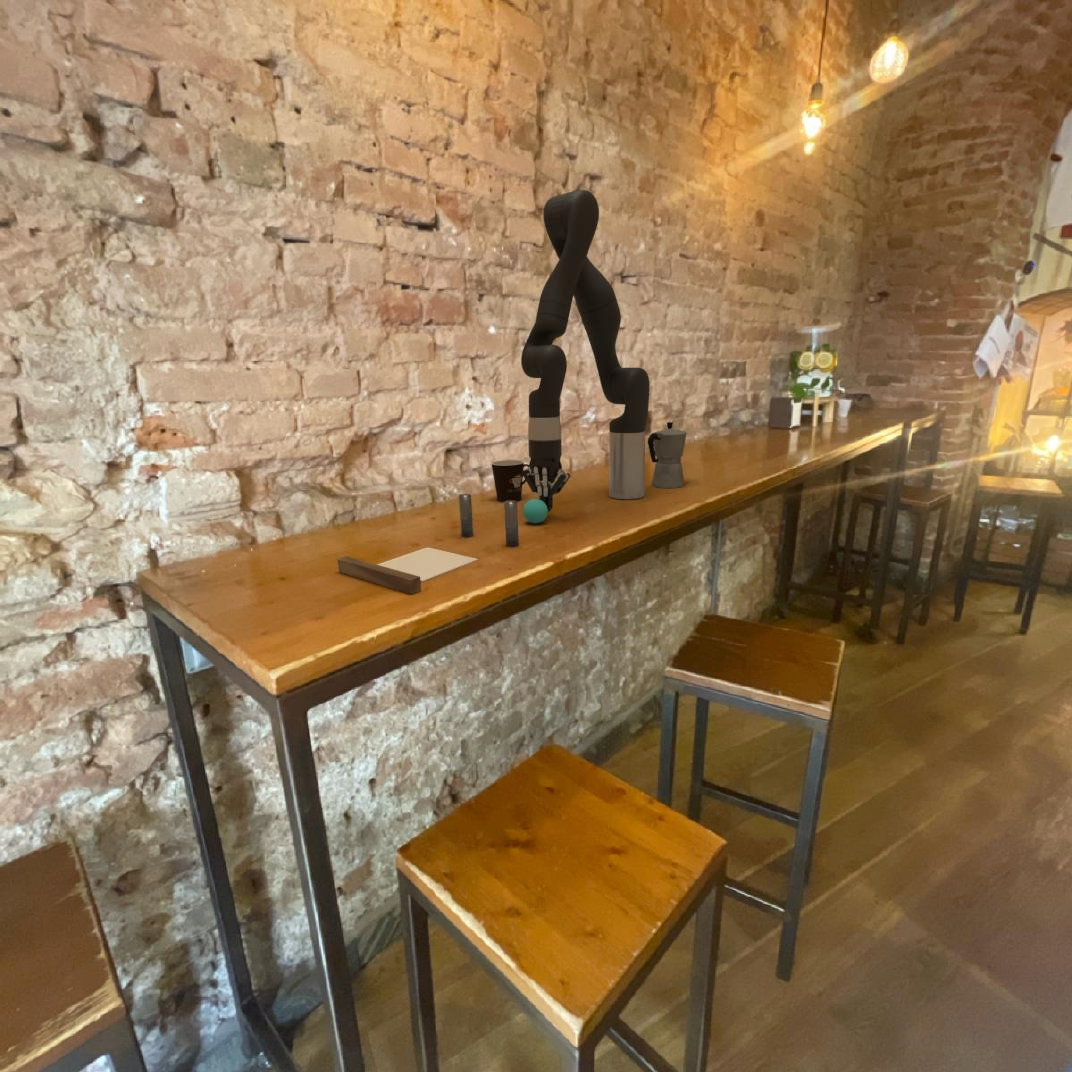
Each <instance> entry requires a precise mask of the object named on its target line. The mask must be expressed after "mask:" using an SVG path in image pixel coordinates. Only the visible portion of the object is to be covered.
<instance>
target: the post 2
mask: <svg viewBox="0 0 1072 1072" xmlns="http://www.w3.org/2000/svg"><path fill="white" fill-rule="evenodd" d="M503 506H504V510H503V511H504V527H505V531H504V532H505V546H506V547H509V548H515V547H518V546H520V545H519V544H520V543H519V542H520V540H519V539H520V538H519V515H518V501H512V500H511V501H505V502H503Z"/></svg>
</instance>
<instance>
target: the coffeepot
mask: <svg viewBox="0 0 1072 1072" xmlns="http://www.w3.org/2000/svg"><path fill="white" fill-rule="evenodd" d="M673 424H674V423H673V422H672V421H669V422H666V425H667V428H665V429H662V430H661V429H660V430H658V431H655V432H652V433H651V434H650V435H649V436H648V438H647V445H648V450H649V455H650V459H651V462H652V463H655V466H654V470H653V476H652V480H651V486H653V487H654V486H655V488H657V487H658V488H659V489H667V488H668V489H669V490H670V489H678V488H679V489H680V488H683V487H684V485H685V479H684V478H685V477H684V471H683V470H684V469H683V465H682V464H683V463H681V461H682V457H683V456H684V455H683V454H684V450H685V449H684V448H685V444H686V440H687V439H686V437H687V434H688V432H686V431H683V430H679V429H675V428H673ZM682 486H683V487H682Z"/></svg>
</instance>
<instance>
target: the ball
mask: <svg viewBox="0 0 1072 1072" xmlns="http://www.w3.org/2000/svg"><path fill="white" fill-rule="evenodd" d="M523 516H524V518H525V519H526V520H527V521H528V522H529V523H531V524H541V523H542V522H544V521H545V519H547V516H548V509H547V506H546V504H545V503H544V502H543V501H541V500H539V498H533V499H529V500H528V501H527V502H526V503H525V504H524V507H523Z"/></svg>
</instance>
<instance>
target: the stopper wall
mask: <svg viewBox="0 0 1072 1072" xmlns="http://www.w3.org/2000/svg"><path fill="white" fill-rule="evenodd" d="M337 566H338V568H337V569H338V573H341V574H344V575H348V576H350V577H354V578H357V579H360V580H364V581H366V582H369V583H373V584H376V585H380V586H382V587H386V588H390V589H393V590H396V591H399V592H402V593H406V594H408V595H415V594H417V593H419V591H420V592H422V584H421V581H420V577H419V576H416V575H412V574H409V573H405V572H401V571H398V570H394V569H391V568H387V567H383V566H380V565H377V564H376V563H372V562H369V561H365V560H361V559H358V558H354V557H351V556H347V555H346V556H343V557H340V558H337Z"/></svg>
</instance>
